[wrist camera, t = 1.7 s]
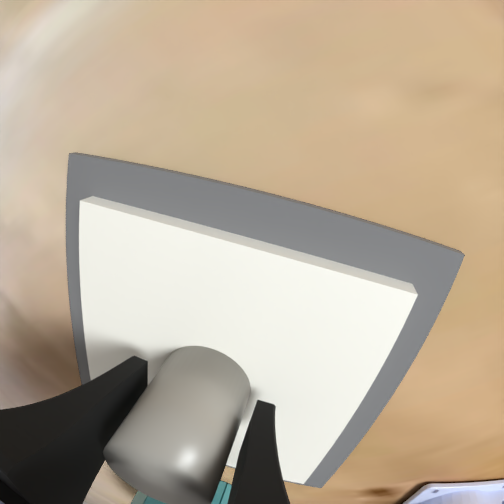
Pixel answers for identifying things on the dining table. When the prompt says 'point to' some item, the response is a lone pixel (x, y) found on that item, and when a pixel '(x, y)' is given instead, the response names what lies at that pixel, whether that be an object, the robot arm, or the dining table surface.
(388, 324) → the lid
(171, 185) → the mat
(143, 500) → the bowl
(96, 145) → the dining table surface
